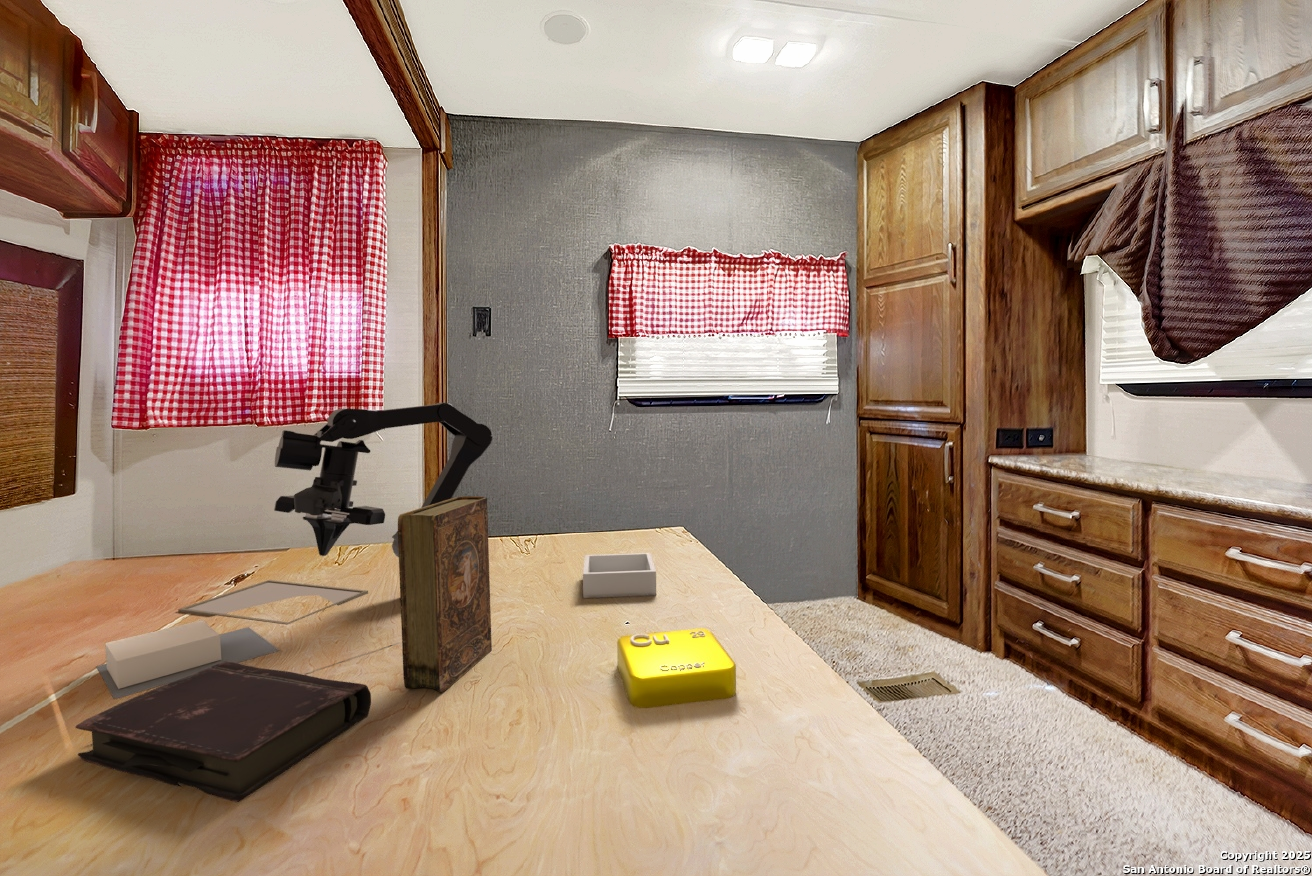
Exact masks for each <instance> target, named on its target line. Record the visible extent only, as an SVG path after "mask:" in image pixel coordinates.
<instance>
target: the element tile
mask: <svg viewBox="0 0 1312 876" xmlns="http://www.w3.org/2000/svg"><path fill="white" fill-rule="evenodd" d="M616 650H617V651H616V653H617V654H616V655H617V656H616V657H617V658H616V659H617V668H618V671H619V674H620V679H621V681H622V685H623V687H624V692H625V695H626V698H627V701H628V703H629V704H630V705H631V706H632V707H634V708H637V709H651V708H652V709H653V708H659V707H667V706H675V705H678V706H679V705H685V704H693V703H702V702H711V701H718V700H726V699H730V698H732V697H734V696H735V695H736V694H737V693H736V692H737V665H736V663H735V661H734V660H733V658H732V657H731V656H730V654H729V653H728V652H727V651H726V649H725V648H724V647H723V645H722V644H721V643H720V642H719V640H718V639H717V637H716V636H715V635H714V633H713V632H711V631H710V630H709V629H707V628H693V629H692V628H689V629H680V630H671V631H659V632H650V633H649V632H648V633H638V634H625V635H622V636H620V637H619V638H618V639H617V641H616Z"/></svg>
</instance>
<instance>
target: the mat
mask: <svg viewBox="0 0 1312 876" xmlns="http://www.w3.org/2000/svg"><path fill="white" fill-rule="evenodd" d="M219 634H220V645H221V660H218V661H215V662H211V663H208V664H204V665H201V666H197V667H194V668H190V669H187V670H183V671H180V672H176V673H173V674H169V675H166V676H162V677H159V678H155V679H152V680H148V681H145V682H141V683H138V684H134V685H131V686H127V687H124V688H120V689H118V687H117V685H116V684H115V682H114V680H113V678H112V677H111V675H110V673H109V671H108V670H107V663H104V664H100V665H97V666H96V669H97V670H98V672H99V674H100V676H101V678H102V679H103V681H104V683H105V685H106V687H107V690H108V691H109V693H110V694H111V696H112V698H113V700H116V699H120V698H123V697H127V696H131V695H134V694H138V693H141V692H144V691H147V690H148V691H149V690H152V689H156V688H158V687H161V686H163V685H166V684H169V683H171V682H174V681H177V680H179V679H182V678H185V677H188V676H190V675H193V674H195V673H198V672H200V671H202V670H205V669H207V668H211V667H212V666H214V665H217V664H219V663H221V662H224V661H229V662H234V663H238V664H241V663H243V662H245V661H249V660H253V659H256V658H260V657H263V656H267V655H270V654H273V653H276V652H280V651H281V650H280V649H279V648H277V647H276V646H275V645H273V644H272V643H271V642H269V641H268V640H267V639H265V638H264V637H262V636H261V635H260V634H259V633H257V632H256V631H254V629H252V628H251V627H249V626H247V627H243V628H239V629H236V630H231V631H229V632H224V633H219Z"/></svg>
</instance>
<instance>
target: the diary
mask: <svg viewBox="0 0 1312 876" xmlns="http://www.w3.org/2000/svg"><path fill="white" fill-rule="evenodd" d="M371 694H372V693H371V691H370V689H369V687H368V685H366V684H365V683H364V684H363V683H357V682H350V681H342V680H334V679H326V678H321V677H317V676H311V675H306V674H302V673H297V672H293V671H286V670H280V669H279V670H278V669H269V668H261V667H256V666H251V665H248V664H247V665H246V664H244V663H243V664H241V663H234V662H229V661H224V662H221V663H219V664H217V665H214V666H212V667H211V668H207V669H205V670H202V671H200V672H198V673H195V674H193V675H190V676H188V677H185V678H182V679H179V680H177V681H174V682H171V683H168V684H165V685H162V686H158V687H155V688H152V689H150V690H148V691H146V692H144V693H141V694H140V695H137V696H135V697H132V698H130V699H127V700H125V701H123V702H121V703H119V704H117V705H114V706H112V707H110V708H108V709H106V710H104V711H101V712H99V713H97V714H95V715H93V716H90V717H88V718H87V719H85V720H83V721H81V722H80V723H79V724H77V725H76V726H75V729H78V730H81V731H86V732H87V731H88V732H91V739H92V740H91V741H92V749H91V750H89V751H83V752H78V753H77V756H78V757H79V758H80V759H82V760H83V761H85V762H87V763H92V764H95V765H97V766H101V767H103V768H108V769H111V770H114V769H115V770H114V771H118V772H121V773H126V772H127V773H126V774H131V775H135V776H140V777H145V778H150V779H153V780H156V781H158V782H162V783H164V784H168V785H170V786H171V785H172V786H174V787H181V788H183V787H182V785H185V786H189V787H192V788H196V789H198V790H200V791H202V792H204V794H208V795H210V796H214V797H215V798H220V799H223V800H227V801H230V802H233V803H240V802H241V801H242V800H244V799H246V798H247V797H249V796H250V795H252V794H254V793H255V792H257V790H259V789H261V788H262V787H264V786H265V785H266V784H268V783H270V782H271V781H273V780H274V779H276V778H277V777H278V776H280V775H282V774H283V773H285V772H286V771H288V770H289V769H291V768H292V767H294V766H295V765H297V764H298V763H300V762H301V761H303V760H304V759H306V758H308V757H309V756H310V755H312V754H313V753H315V752H316V751H318V750H319V749H320V748H322V747H324V746H325V745H327V744H328V743H330V742H332V740H335V739H336V738H338V737H339V736H340V735H342V734H343V733H345V732H347V731H348V730H349V729H351V728H352V727H354V726H356V725H358V724H359V723H360V722H361V721H363V720H364V719H366V718H368V716H369V714H370V713H369V712H370V709H371V705H372V695H371ZM181 784H182V785H181Z"/></svg>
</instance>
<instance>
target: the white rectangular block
mask: <svg viewBox="0 0 1312 876" xmlns="http://www.w3.org/2000/svg"><path fill="white" fill-rule="evenodd" d="M220 634H221V633H219V632H217V631H216V630H215V629H214V628H213V627H212V626H210V625H209V624H208V623H207V622H205V620H204V619H201V620H197V621H193V622H189V623H184V624H179V625H176V626H172V627H171V626H170V627H168V628H162V629H159V630H155V631H151V632H146V633H142V634H138V635H134V636H129V637H125V638H121V639H117V640H113V641H109V642H105V643H104V645H105V659H106V660H105V661H106V663H105V664H107V670H108V671H109V673H110V675H111V677H112V678H113V680H114V682H115V684H116V685H117V687H118V689H120V688H124V687H127V686H131V685H134V684H138V683H141V682H145V681H148V680H152V679H155V678H159V677H162V676H166V675H169V674H173V673H176V672H180V671H183V670H187V669H190V668H194V667H197V666H201V665H204V664H208V663H211V662H215V661H218V660H221V645H220Z"/></svg>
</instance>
